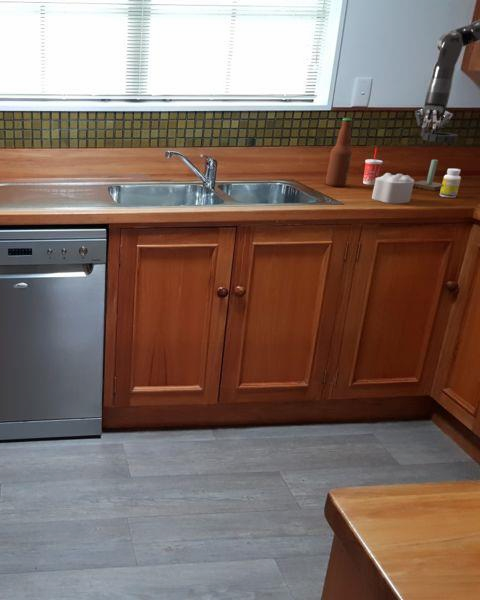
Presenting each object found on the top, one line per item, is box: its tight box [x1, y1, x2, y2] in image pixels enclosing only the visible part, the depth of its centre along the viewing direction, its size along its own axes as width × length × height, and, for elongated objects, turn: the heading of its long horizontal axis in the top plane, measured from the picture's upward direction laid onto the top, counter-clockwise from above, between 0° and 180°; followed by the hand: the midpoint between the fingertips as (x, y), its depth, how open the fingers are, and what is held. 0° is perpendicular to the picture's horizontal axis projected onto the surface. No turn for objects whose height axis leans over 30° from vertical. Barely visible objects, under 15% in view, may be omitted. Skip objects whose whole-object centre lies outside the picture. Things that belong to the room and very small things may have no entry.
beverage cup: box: [362, 147, 384, 186], centre depth 237 cm, size 6×6×14 cm
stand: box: [413, 159, 442, 192], centre depth 233 cm, size 9×9×10 cm
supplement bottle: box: [439, 168, 462, 199], centre depth 219 cm, size 5×5×10 cm
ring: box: [421, 131, 459, 144], centre depth 227 cm, size 11×11×2 cm
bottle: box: [325, 117, 353, 188], centre depth 231 cm, size 7×7×25 cm
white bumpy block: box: [371, 172, 415, 204], centre depth 213 cm, size 10×13×9 cm
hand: (427, 138), depth 231 cm, fingers closed on ring, 2 cm apart
